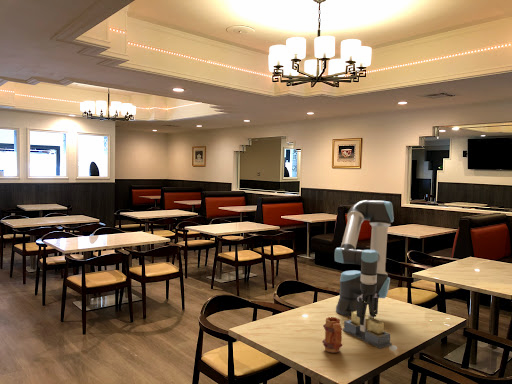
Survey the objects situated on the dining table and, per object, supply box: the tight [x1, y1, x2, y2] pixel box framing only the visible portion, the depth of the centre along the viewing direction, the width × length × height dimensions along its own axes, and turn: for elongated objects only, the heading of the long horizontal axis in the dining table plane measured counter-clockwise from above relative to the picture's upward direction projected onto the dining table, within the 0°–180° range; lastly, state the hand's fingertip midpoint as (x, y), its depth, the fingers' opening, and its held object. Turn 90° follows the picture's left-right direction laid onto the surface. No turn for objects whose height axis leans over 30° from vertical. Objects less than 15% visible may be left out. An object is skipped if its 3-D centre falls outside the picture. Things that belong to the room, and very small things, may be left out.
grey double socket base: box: [342, 319, 392, 350], centre depth 200 cm, size 24×8×5 cm, turn 31°
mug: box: [321, 316, 343, 353], centre depth 182 cm, size 15×8×15 cm, turn 5°
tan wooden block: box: [350, 311, 385, 335], centre depth 200 cm, size 18×4×9 cm, turn 31°
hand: (366, 330), depth 200 cm, fingers open, 4 cm apart
